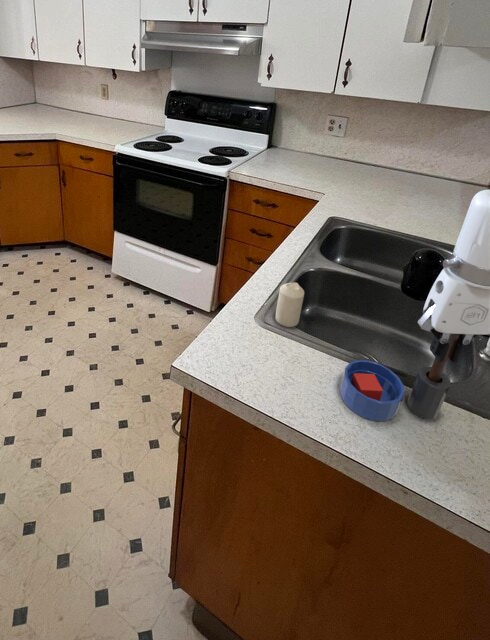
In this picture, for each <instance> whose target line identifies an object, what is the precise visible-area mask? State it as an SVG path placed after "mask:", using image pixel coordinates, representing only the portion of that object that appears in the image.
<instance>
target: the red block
mask: <svg viewBox="0 0 490 640" xmlns="http://www.w3.org/2000/svg"><path fill="white" fill-rule="evenodd" d="M351 384H352V385H353V386H354V387H355V388H356V389H357V390H358V391H359V392H360V393H362V394H364V395H365V396H367V397H369V398H372V399H375V400H378V401H380V399H381V396H382V393H383V390H382V388H381V386H380V384H379V382H378V380H377V378H376V376H375V374H361V373H353V377H352V380H351Z"/></svg>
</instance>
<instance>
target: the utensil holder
mask: <svg viewBox="0 0 490 640" xmlns="http://www.w3.org/2000/svg"><path fill="white" fill-rule="evenodd" d="M431 367H432V366H421V367H420V368H418V370H417V373H416V376H415V379H414V381H413V384H412V387H411V389H410V391H409V395H408V398H407V402H406V404H407V407H408V409H409V410H410V411H411V412H412V414H414V415H415V416H417V417H419V418H422V419H424V420H435V419H436V418H437V416H438V415H439V412H440V411H441V409H442V406H443V404H444V402H445V399H446V397H447V395H448V392H449V390H450V387H451V379H450V378H449V377H448V376H447V374H446V373H444V372H443V373H442V376H441V378H440V381H439V383H435V382H433V381H431V380H429V379H428V375H429V372H430V370H431Z"/></svg>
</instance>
